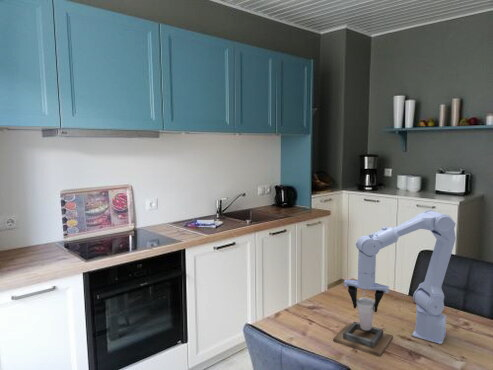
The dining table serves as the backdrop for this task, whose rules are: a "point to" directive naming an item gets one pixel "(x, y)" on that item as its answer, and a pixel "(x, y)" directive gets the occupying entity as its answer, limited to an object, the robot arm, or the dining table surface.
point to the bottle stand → (364, 338)
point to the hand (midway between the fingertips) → (365, 309)
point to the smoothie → (365, 311)
